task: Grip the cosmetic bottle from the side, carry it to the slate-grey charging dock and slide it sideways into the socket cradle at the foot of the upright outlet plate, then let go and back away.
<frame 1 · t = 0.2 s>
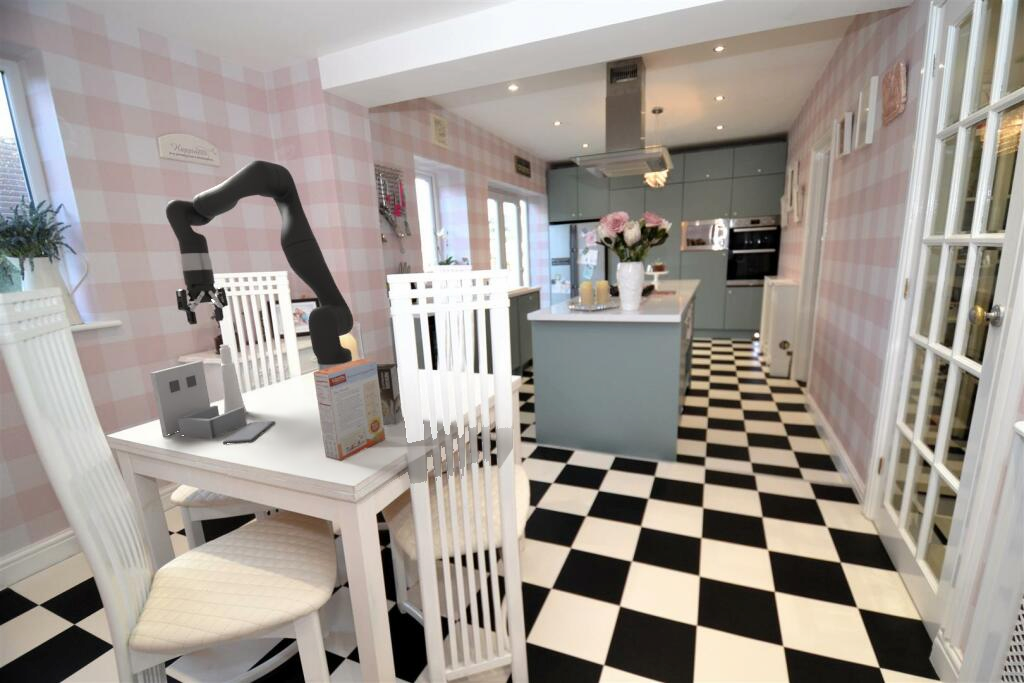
hand: (206, 322, 138), 29 cm above the table, tool pointing down, fingers open, 8 cm apart
outlet dock: (213, 430, 127), on the table
phone: (251, 434, 124), on the table
cracker box: (356, 448, 110), on the table
cosmetic bottle: (235, 414, 141), on the table
coffee box: (384, 421, 128), on the table
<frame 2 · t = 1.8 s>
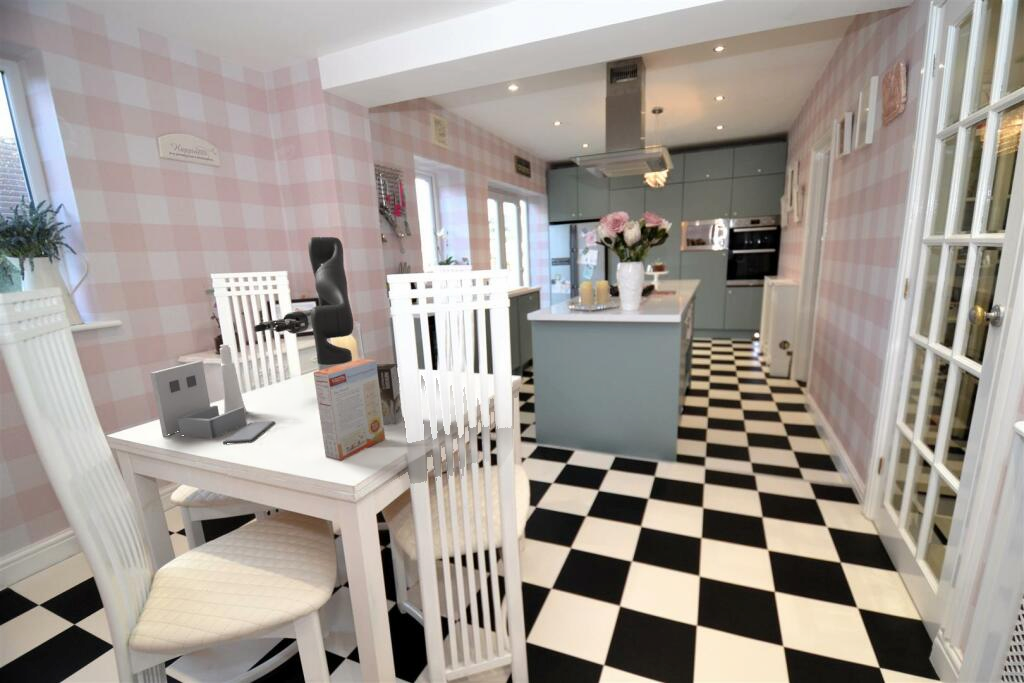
hand: (265, 328, 148), 25 cm above the table, tool horizontal, fingers open, 8 cm apart
nothing on the table moved.
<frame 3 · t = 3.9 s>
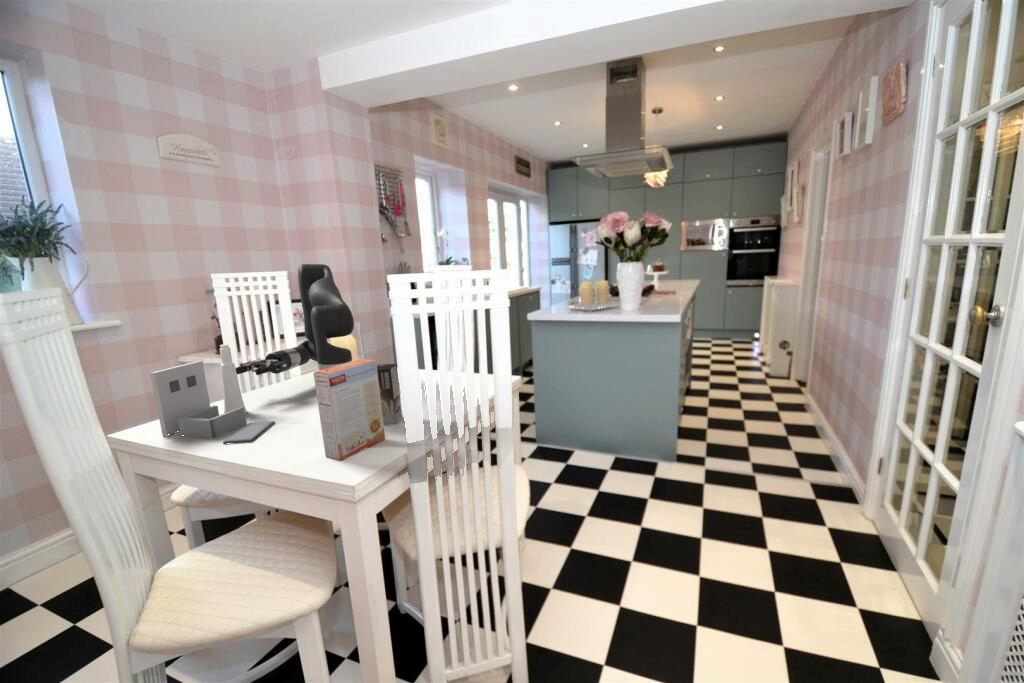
hand: (245, 371, 144), 12 cm above the table, tool horizontal, fingers open, 8 cm apart
nothing on the table moved.
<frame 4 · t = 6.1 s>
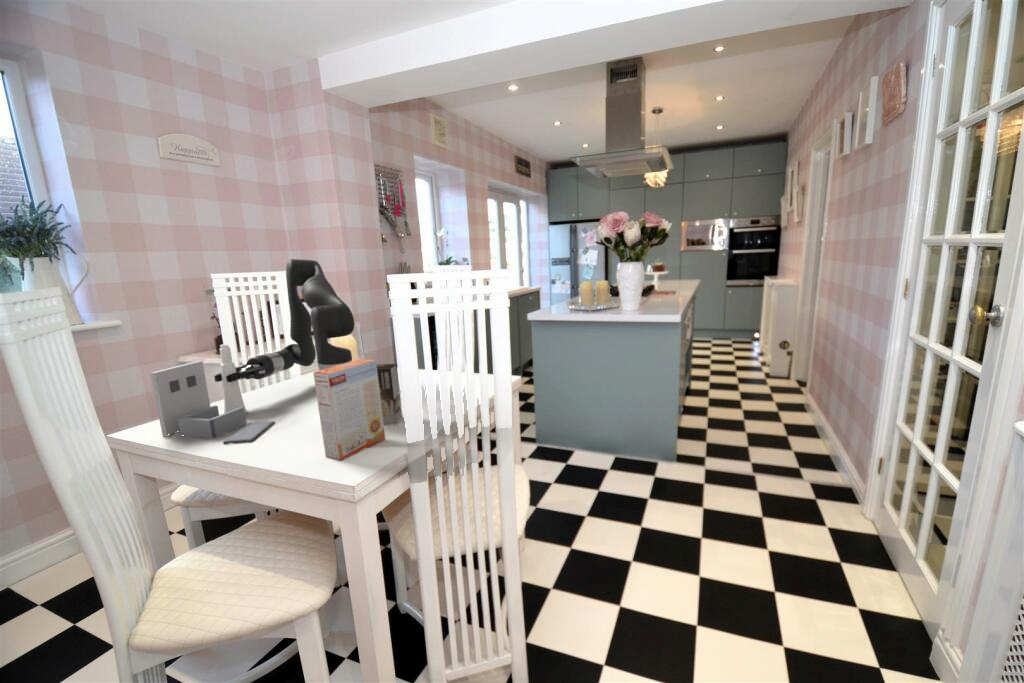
hand: (221, 378, 136), 12 cm above the table, tool horizontal, fingers closed on cosmetic bottle, 4 cm apart
cosmetic bottle: (235, 414, 141), on the table, touching gripper
everything else where it was.
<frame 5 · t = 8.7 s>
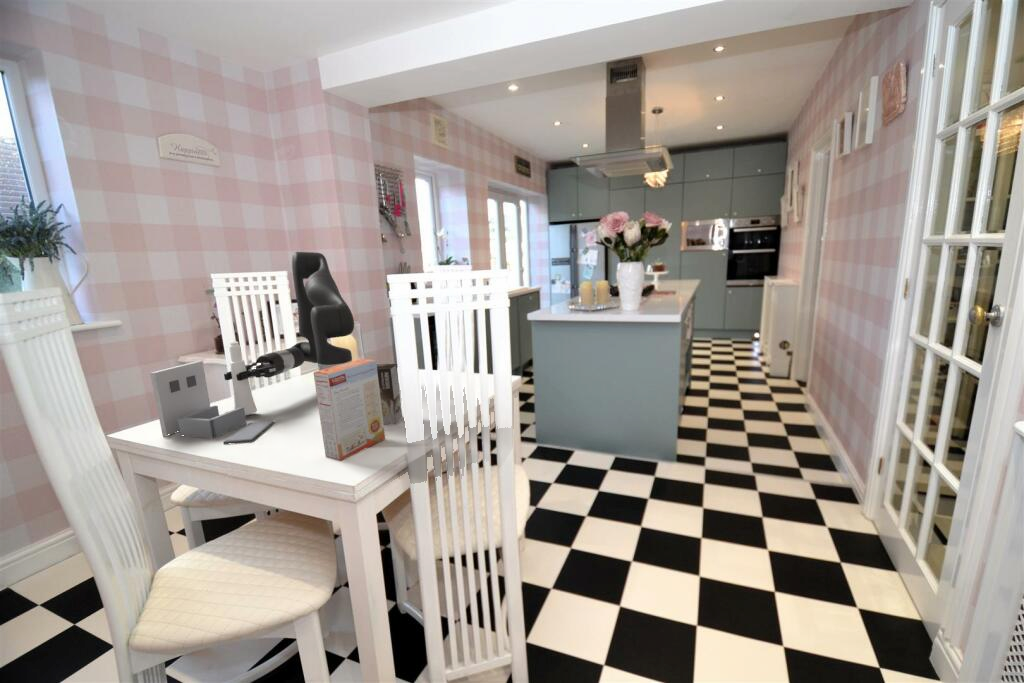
hand: (231, 377, 133), 13 cm above the table, tool horizontal, fingers closed on cosmetic bottle, 4 cm apart
cosmetic bottle: (246, 413, 138), point 1 cm above the table, touching gripper
everything else where it was.
when the fingers open (13 cm above the table, at t = 11.5 s): cosmetic bottle drops 1 cm, resting in outlet dock.
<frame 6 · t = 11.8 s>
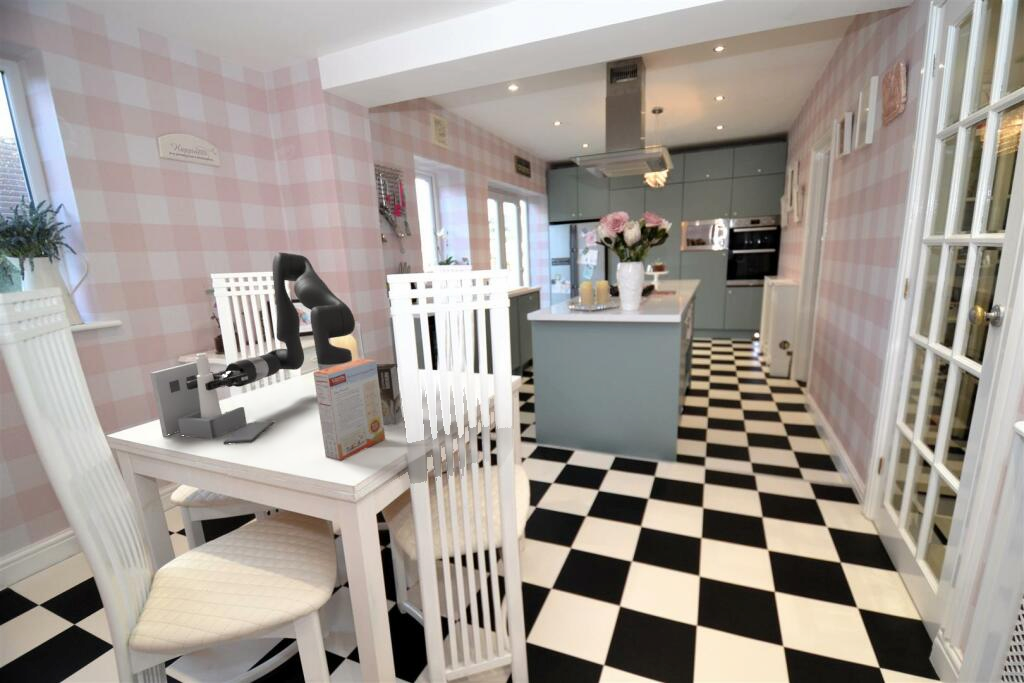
hand: (197, 386, 122), 13 cm above the table, tool horizontal, fingers open, 6 cm apart
cosmetic bottle: (214, 430, 127), resting in outlet dock
everything else where it was.
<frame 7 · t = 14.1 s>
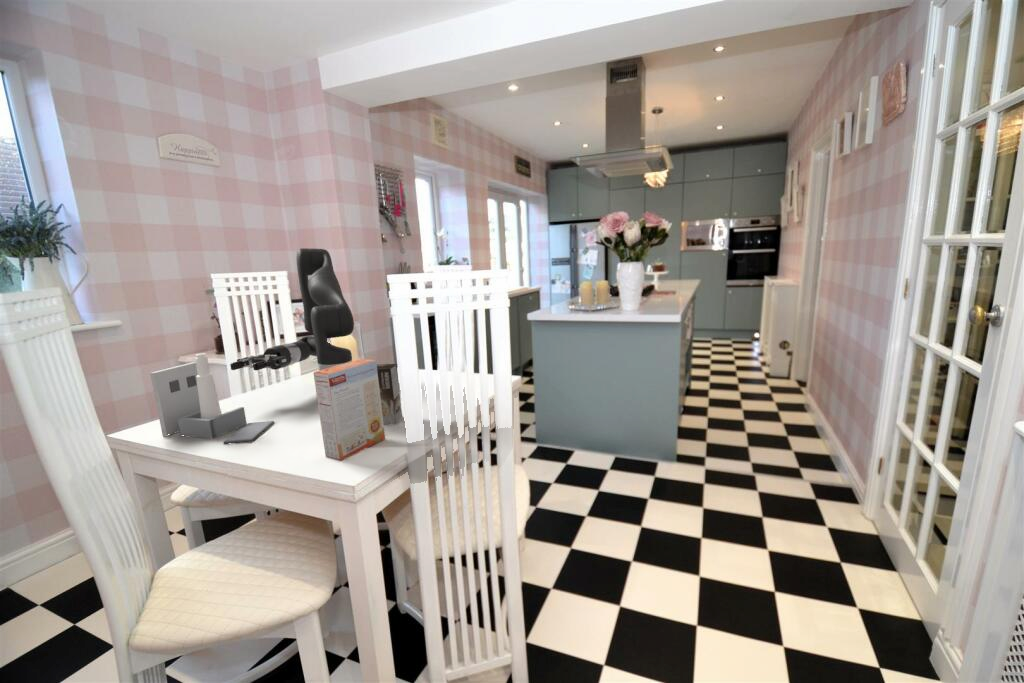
hand: (242, 367, 136), 15 cm above the table, tool horizontal, fingers open, 8 cm apart
nothing on the table moved.
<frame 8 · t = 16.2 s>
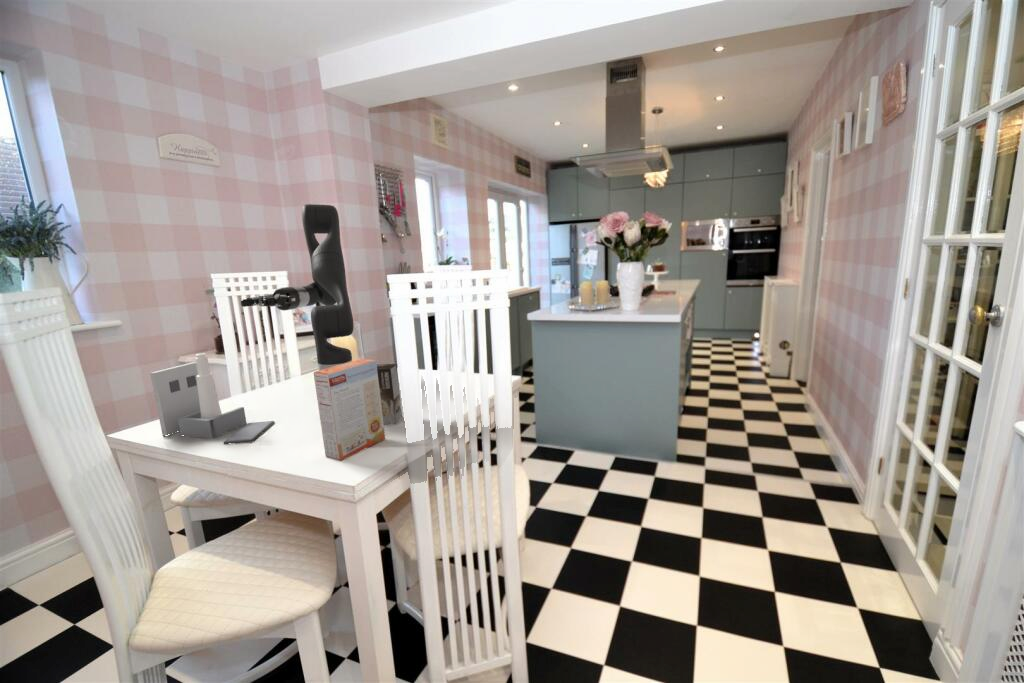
hand: (253, 303, 137), 34 cm above the table, tool horizontal, fingers open, 8 cm apart
nothing on the table moved.
at the end: cosmetic bottle inside the target area on the outlet dock (0.3 cm from its centre), point 0.0 cm above the outlet dock's base; cosmetic bottle tilted 0°; the gripper is holding nothing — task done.
